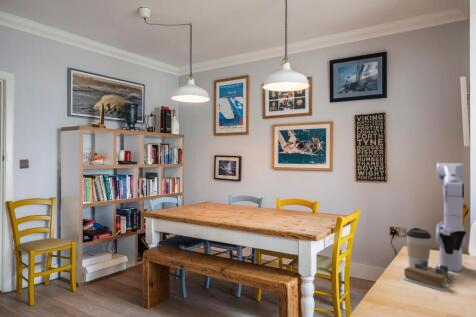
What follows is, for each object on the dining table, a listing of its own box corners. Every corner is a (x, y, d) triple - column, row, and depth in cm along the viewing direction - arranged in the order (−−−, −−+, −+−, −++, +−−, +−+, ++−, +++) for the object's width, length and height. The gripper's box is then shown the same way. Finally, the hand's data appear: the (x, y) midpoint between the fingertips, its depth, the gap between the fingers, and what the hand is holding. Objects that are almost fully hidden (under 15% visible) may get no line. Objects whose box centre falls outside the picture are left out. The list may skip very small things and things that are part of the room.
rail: (407, 275, 125) (407, 266, 125) (447, 285, 115) (447, 276, 115) (403, 277, 123) (403, 268, 122) (443, 288, 112) (443, 278, 112)
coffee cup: (434, 270, 130) (435, 233, 130) (409, 268, 132) (410, 231, 132) (426, 263, 139) (426, 227, 139) (403, 261, 141) (403, 226, 141)
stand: (418, 270, 130) (418, 259, 130) (450, 279, 122) (450, 267, 122) (412, 274, 126) (412, 262, 126) (444, 283, 118) (444, 270, 118)
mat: (411, 275, 125) (411, 274, 125) (450, 285, 116) (450, 285, 116) (403, 279, 121) (403, 278, 121) (443, 291, 111) (443, 290, 111)
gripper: (447, 211, 128) (447, 246, 129) (433, 215, 119) (433, 252, 119) (469, 214, 123) (468, 250, 123) (456, 218, 114) (455, 257, 114)
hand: (452, 251), depth 121 cm, fingers open, 7 cm apart
